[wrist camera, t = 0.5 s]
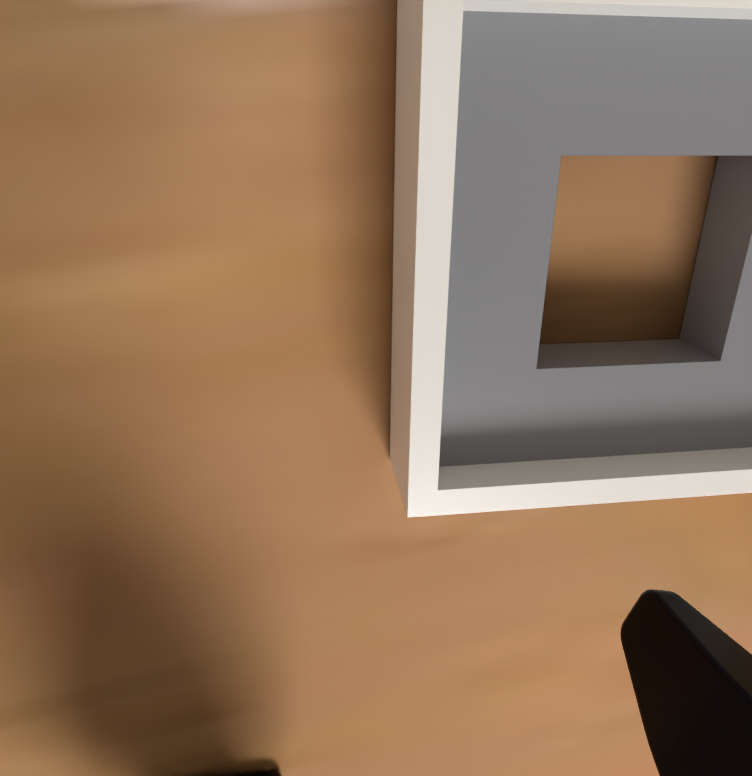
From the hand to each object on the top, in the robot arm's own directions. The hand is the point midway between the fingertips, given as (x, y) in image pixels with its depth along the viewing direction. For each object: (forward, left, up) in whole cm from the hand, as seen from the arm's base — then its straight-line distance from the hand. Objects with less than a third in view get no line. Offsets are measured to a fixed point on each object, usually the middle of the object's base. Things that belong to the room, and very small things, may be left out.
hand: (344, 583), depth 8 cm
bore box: (+2, -11, -14) cm, 18 cm away
